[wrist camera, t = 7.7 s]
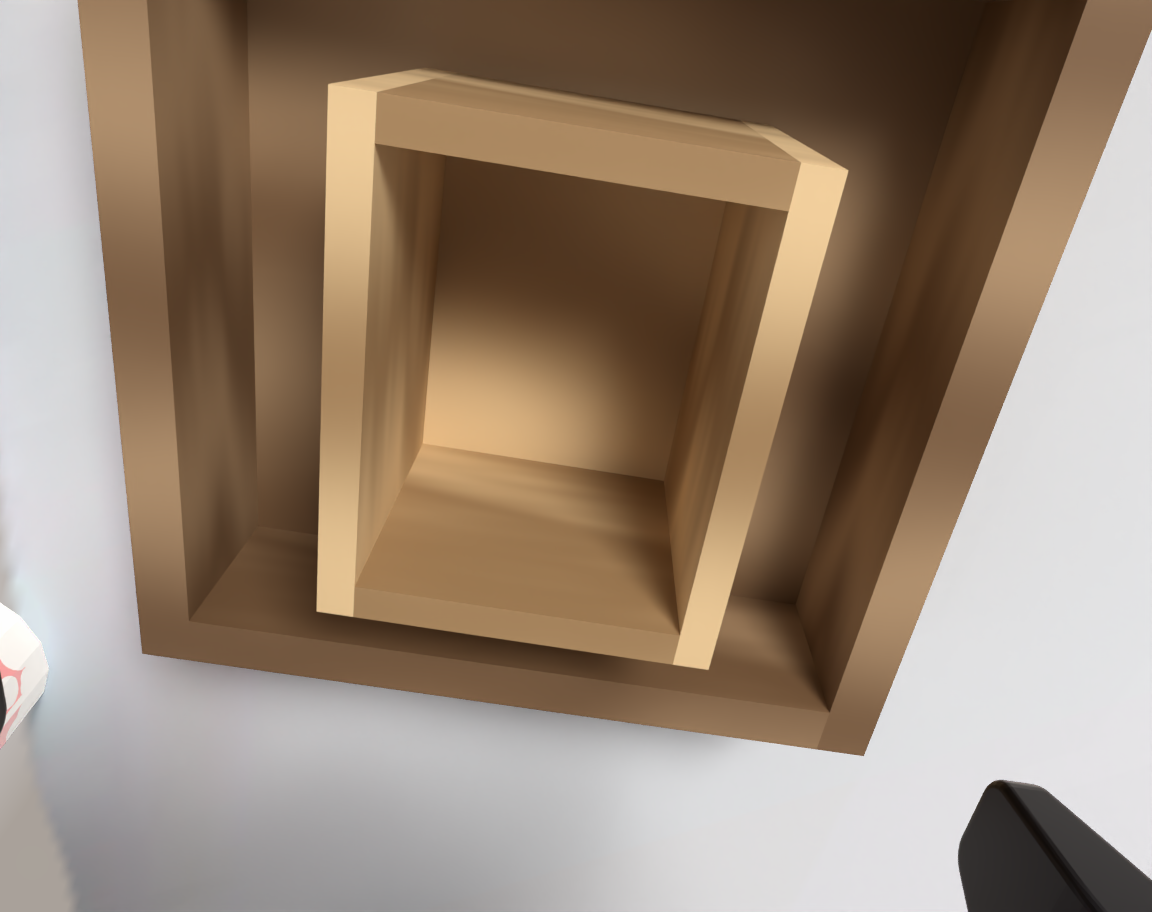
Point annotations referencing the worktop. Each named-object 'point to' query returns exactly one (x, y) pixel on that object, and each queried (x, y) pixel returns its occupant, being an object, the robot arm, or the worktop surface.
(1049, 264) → the walnut crate
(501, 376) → the oak crate
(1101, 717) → the worktop surface
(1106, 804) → the worktop surface
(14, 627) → the beverage cup
